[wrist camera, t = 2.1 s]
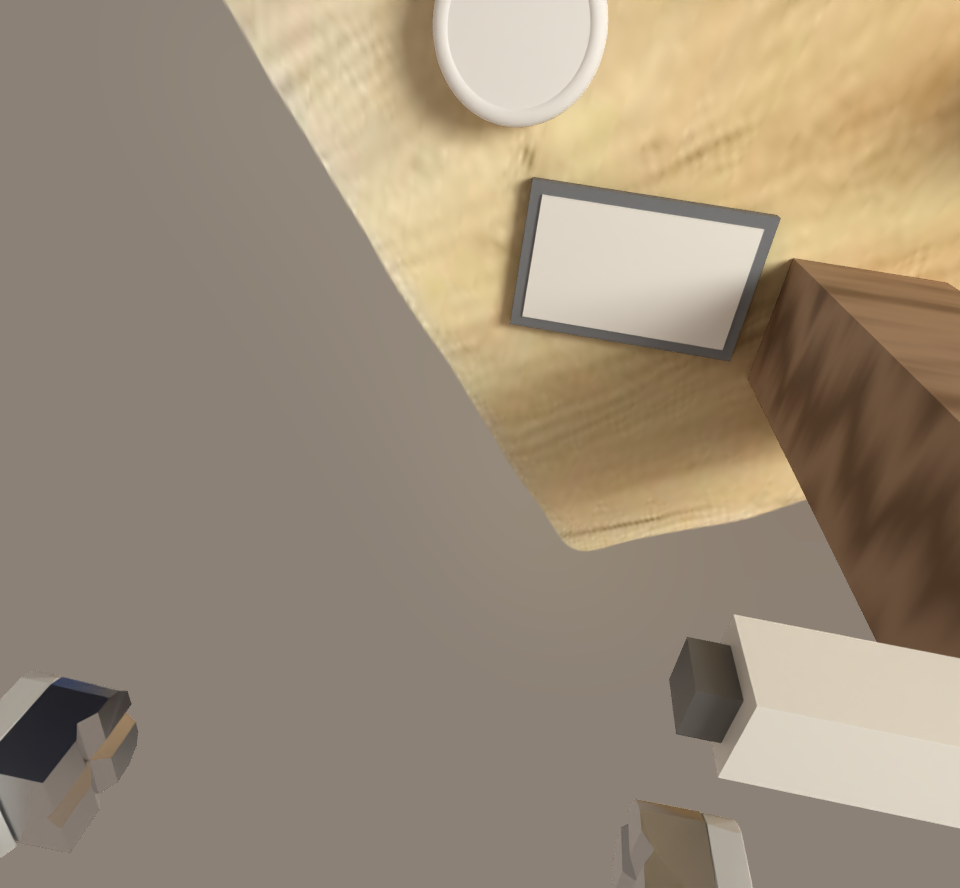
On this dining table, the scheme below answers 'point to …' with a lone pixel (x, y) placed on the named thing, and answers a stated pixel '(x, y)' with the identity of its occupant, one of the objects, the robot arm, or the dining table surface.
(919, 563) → the walnut stand
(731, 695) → the marker
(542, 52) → the coaster
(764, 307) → the dining table surface
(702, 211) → the writing board
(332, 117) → the dining table surface
